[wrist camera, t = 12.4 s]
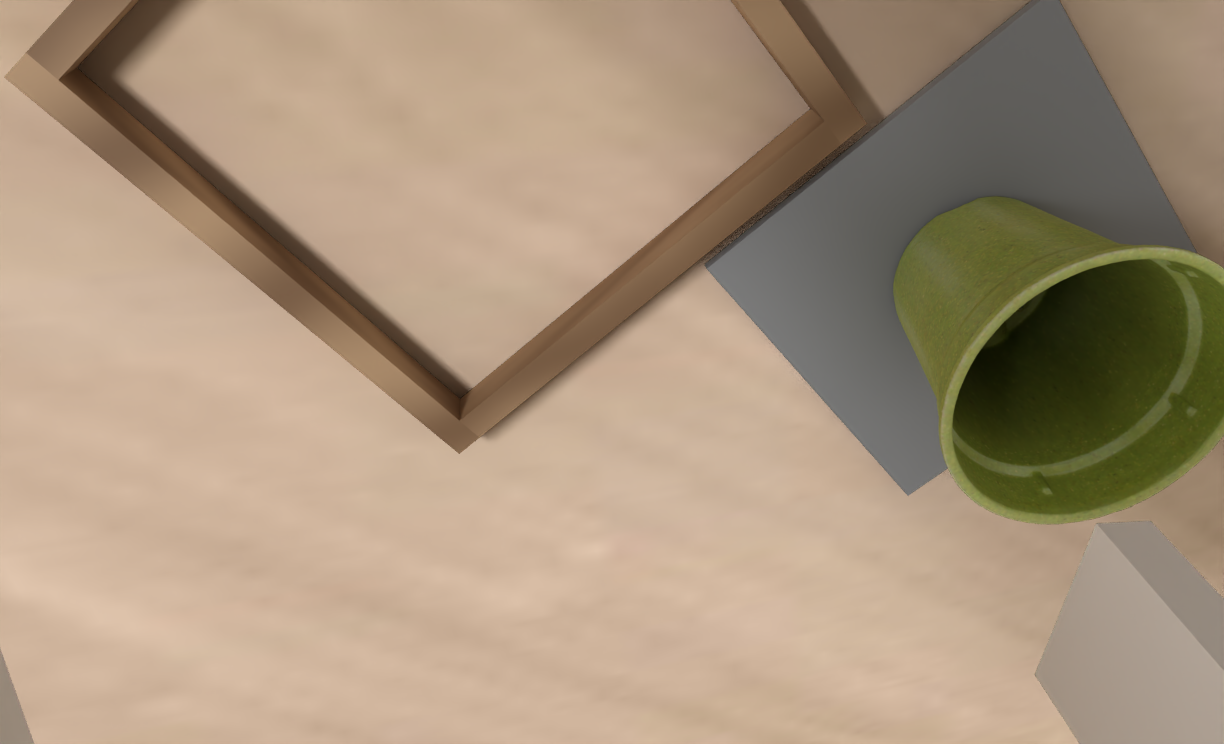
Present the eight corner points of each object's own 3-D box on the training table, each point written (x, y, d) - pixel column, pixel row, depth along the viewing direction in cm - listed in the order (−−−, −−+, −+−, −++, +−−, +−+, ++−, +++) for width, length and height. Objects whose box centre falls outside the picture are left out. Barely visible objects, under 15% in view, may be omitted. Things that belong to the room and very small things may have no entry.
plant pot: (1012, 409, 39) (1139, 551, 32) (803, 353, 37) (888, 493, 29) (1145, 194, 35) (1327, 299, 28) (921, 114, 33) (1055, 206, 25)
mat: (704, 264, 35) (706, 268, 34) (1046, -12, 31) (1053, -10, 31) (904, 489, 41) (907, 495, 41) (1207, 280, 38) (1214, 284, 37)
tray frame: (24, 64, 29) (3, 77, 28) (470, -426, 25) (469, -439, 23) (459, 431, 37) (459, 453, 36) (851, 110, 33) (867, 123, 31)
